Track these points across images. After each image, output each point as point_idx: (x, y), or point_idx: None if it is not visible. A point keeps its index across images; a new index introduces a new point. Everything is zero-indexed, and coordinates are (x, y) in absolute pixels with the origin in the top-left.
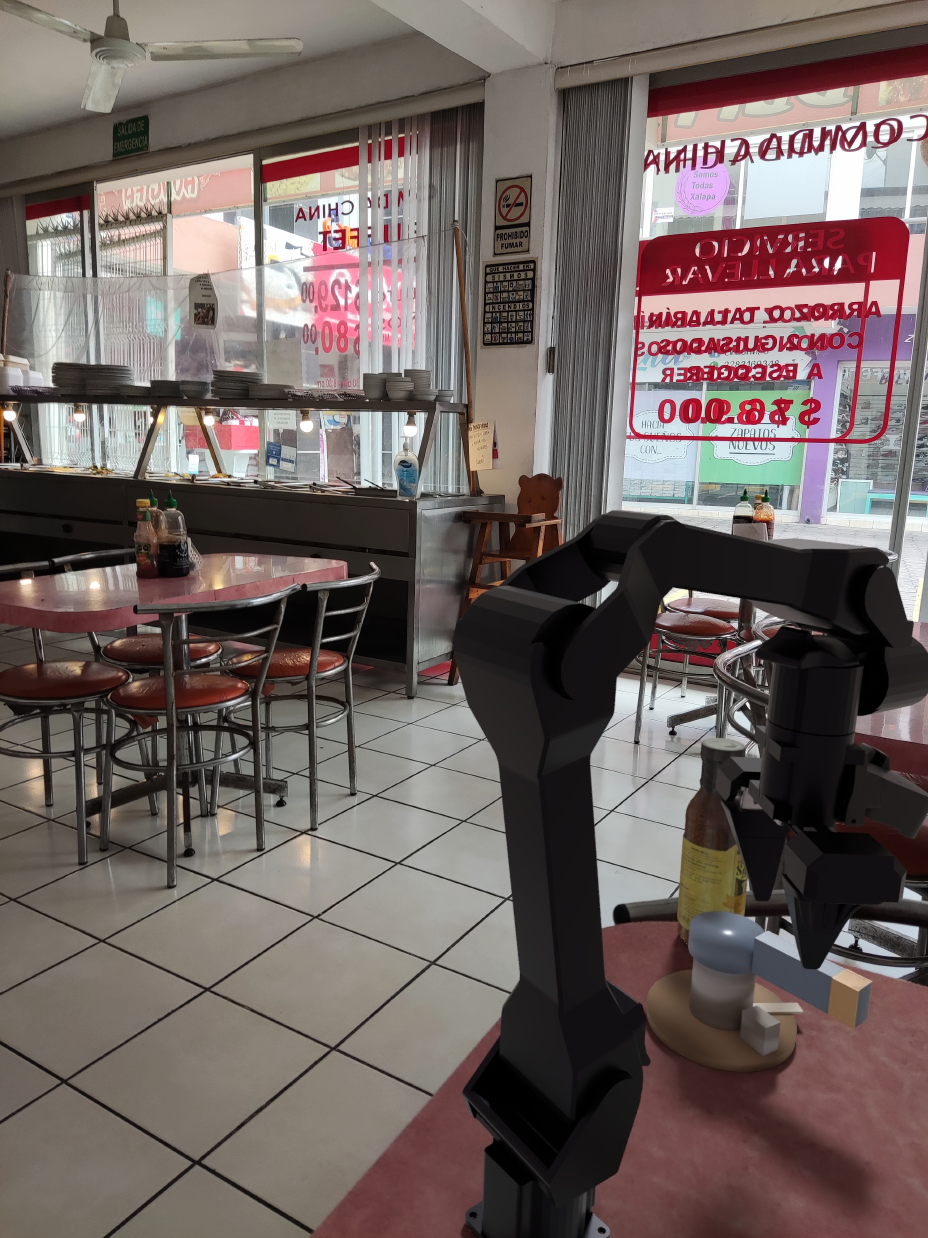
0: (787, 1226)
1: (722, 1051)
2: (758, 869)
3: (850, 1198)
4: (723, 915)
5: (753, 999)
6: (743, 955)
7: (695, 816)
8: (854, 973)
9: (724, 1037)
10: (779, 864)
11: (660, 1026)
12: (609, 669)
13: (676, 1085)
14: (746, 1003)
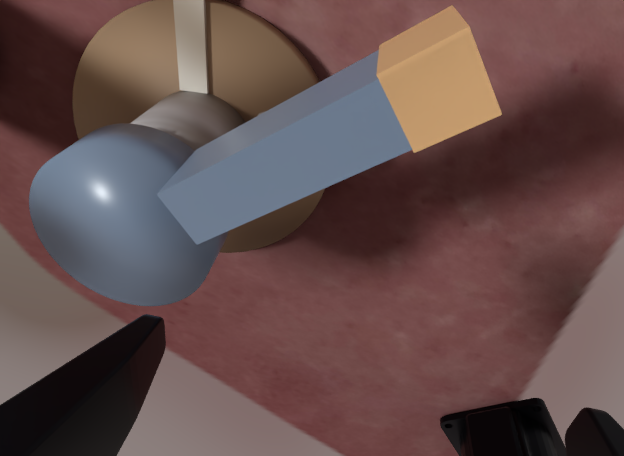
0: (611, 243)
1: None
2: (98, 454)
3: (618, 139)
4: (49, 214)
5: (210, 116)
6: (215, 238)
7: None
8: (409, 63)
9: None
10: (62, 416)
11: (239, 249)
12: None
13: (343, 257)
14: None
